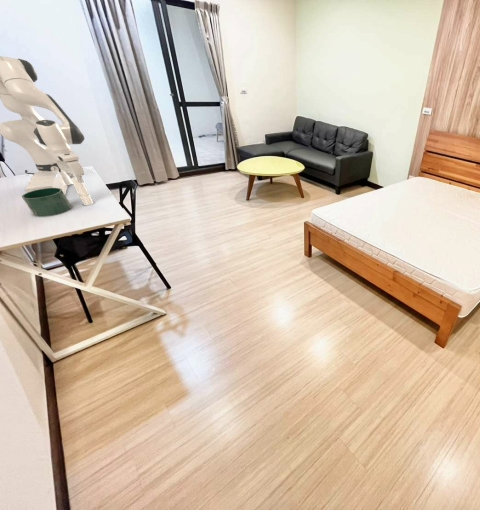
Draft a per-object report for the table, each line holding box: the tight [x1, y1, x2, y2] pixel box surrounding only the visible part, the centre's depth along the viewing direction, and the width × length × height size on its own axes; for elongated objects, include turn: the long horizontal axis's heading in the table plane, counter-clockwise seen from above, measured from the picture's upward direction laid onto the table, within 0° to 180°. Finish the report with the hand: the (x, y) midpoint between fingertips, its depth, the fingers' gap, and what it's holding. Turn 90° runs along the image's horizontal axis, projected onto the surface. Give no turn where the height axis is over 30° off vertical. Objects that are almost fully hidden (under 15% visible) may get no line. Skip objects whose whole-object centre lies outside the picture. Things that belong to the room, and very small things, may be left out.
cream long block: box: [24, 170, 68, 195], centre depth 158 cm, size 32×11×11 cm, turn 36°
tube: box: [70, 176, 94, 206], centre depth 151 cm, size 4×4×15 cm
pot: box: [21, 188, 72, 218], centre depth 143 cm, size 15×15×10 cm
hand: (77, 180), depth 147 cm, fingers open, 8 cm apart
